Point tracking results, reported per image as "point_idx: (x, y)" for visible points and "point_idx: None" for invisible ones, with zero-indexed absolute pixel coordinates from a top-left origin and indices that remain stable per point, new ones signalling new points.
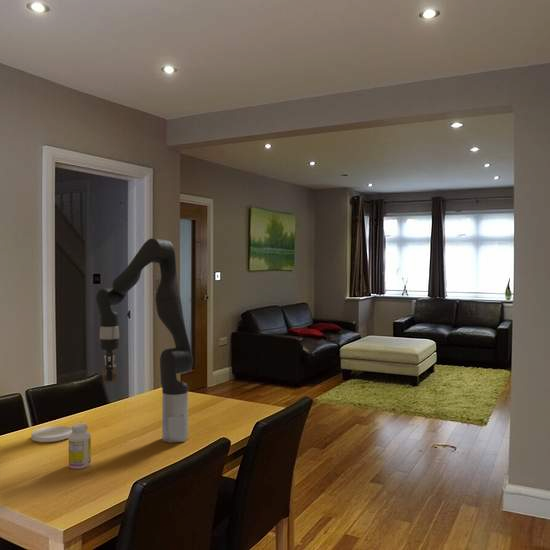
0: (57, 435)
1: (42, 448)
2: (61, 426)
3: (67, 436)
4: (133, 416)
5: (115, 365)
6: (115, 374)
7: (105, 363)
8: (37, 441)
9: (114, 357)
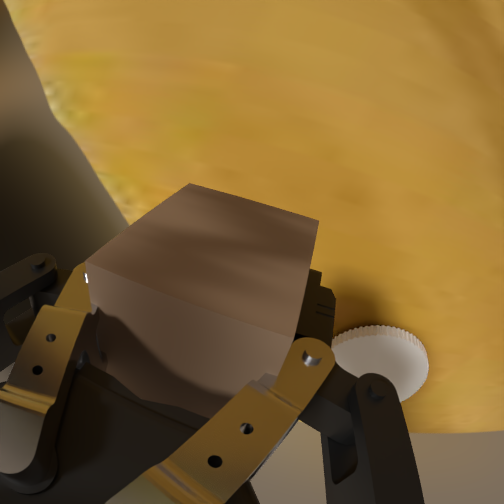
0: (417, 375)
1: (436, 390)
2: (334, 351)
3: (424, 349)
4: (263, 46)
5: (168, 302)
6: (308, 265)
7: (252, 476)
8: None
9: (173, 493)
